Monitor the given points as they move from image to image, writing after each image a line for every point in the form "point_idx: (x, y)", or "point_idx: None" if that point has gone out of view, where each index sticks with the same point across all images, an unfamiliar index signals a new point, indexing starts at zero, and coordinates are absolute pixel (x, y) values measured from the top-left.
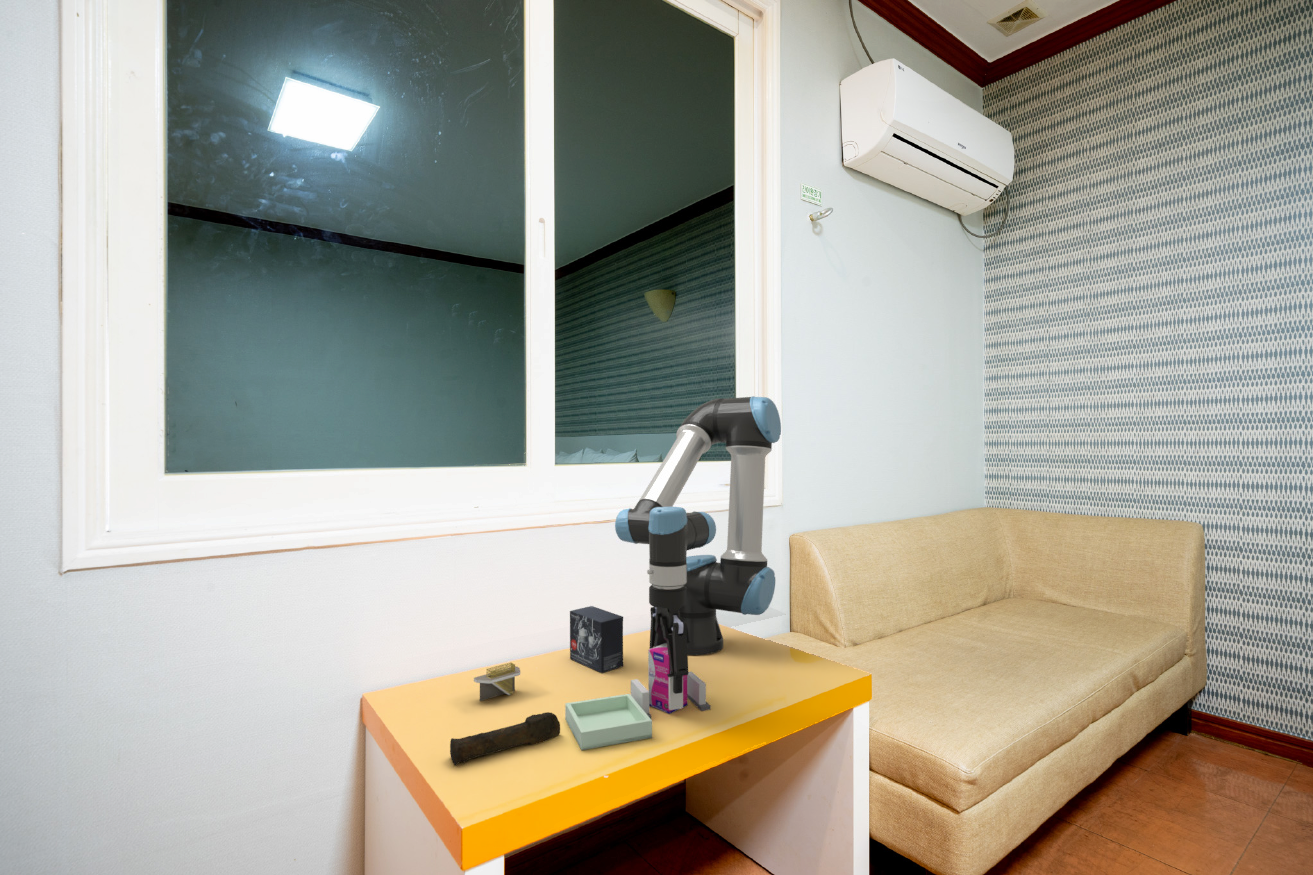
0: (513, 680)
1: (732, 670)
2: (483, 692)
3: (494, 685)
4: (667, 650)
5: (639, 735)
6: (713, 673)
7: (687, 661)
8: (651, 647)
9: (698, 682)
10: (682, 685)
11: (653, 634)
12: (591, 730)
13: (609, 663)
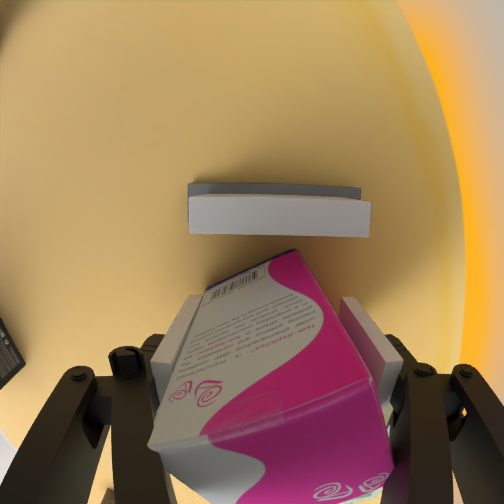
0: (104, 500)
1: (91, 8)
2: None
3: None
4: (319, 486)
5: None
6: (80, 61)
7: (497, 401)
8: (102, 441)
9: (347, 230)
10: (382, 335)
11: (83, 497)
12: (380, 490)
13: (3, 352)
